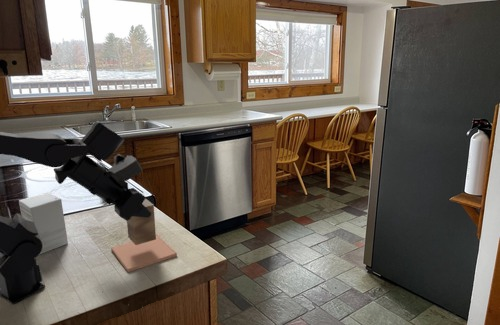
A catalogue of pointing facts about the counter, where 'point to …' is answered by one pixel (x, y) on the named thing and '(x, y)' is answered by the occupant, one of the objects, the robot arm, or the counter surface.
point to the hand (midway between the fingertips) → (145, 211)
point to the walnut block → (142, 226)
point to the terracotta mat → (143, 253)
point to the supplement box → (46, 219)
